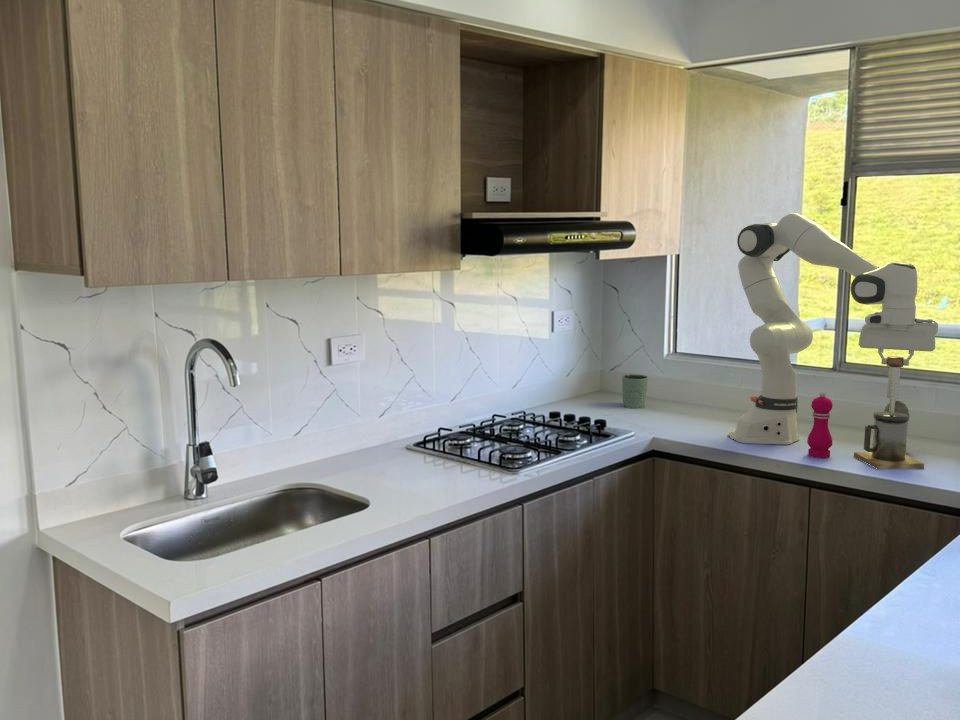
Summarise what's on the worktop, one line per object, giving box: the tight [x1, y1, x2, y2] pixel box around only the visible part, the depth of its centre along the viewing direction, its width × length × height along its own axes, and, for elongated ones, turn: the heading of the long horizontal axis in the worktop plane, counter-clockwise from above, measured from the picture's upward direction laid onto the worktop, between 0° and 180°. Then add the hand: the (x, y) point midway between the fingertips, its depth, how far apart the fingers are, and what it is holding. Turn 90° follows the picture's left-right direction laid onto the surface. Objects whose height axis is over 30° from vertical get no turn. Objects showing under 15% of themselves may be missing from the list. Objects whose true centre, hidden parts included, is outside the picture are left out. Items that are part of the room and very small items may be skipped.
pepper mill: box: [806, 391, 834, 459], centre depth 263 cm, size 7×7×20 cm
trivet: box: [853, 451, 925, 470], centre depth 257 cm, size 14×14×2 cm
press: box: [863, 398, 910, 462], centre depth 255 cm, size 12×10×22 cm
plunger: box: [886, 356, 905, 400], centre depth 253 cm, size 4×4×12 cm
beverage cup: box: [883, 399, 910, 416], centre depth 271 cm, size 7×7×20 cm
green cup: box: [621, 373, 649, 409], centre depth 339 cm, size 10×10×12 cm
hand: (894, 364), depth 253 cm, fingers closed on plunger, 4 cm apart
